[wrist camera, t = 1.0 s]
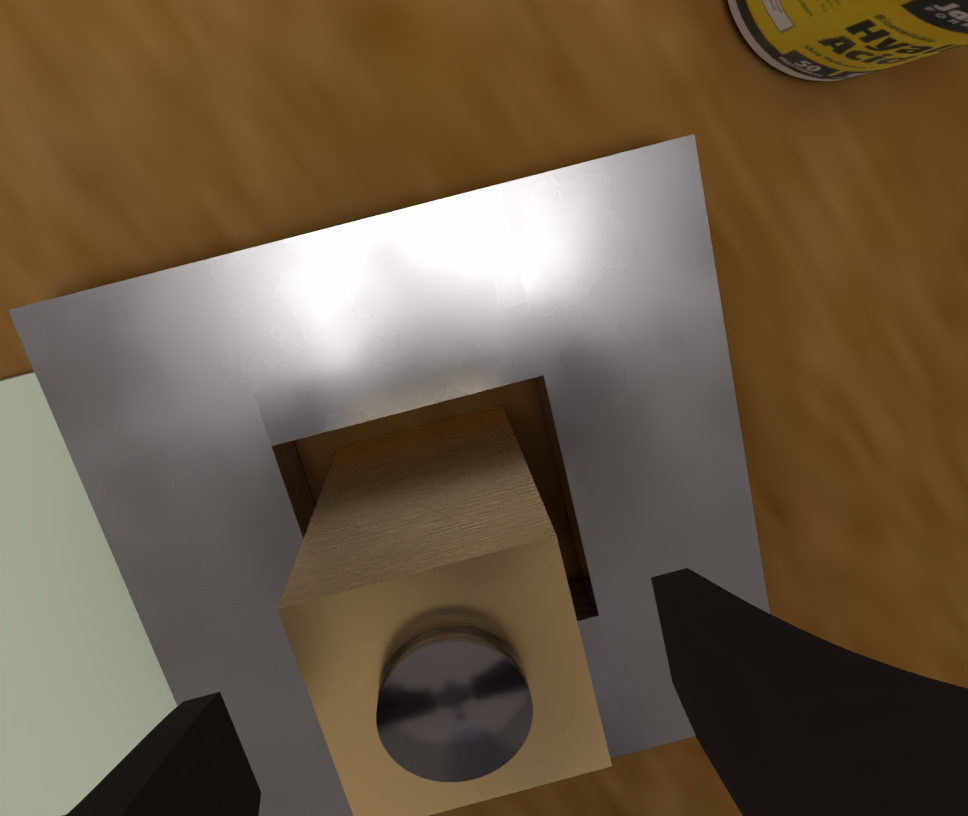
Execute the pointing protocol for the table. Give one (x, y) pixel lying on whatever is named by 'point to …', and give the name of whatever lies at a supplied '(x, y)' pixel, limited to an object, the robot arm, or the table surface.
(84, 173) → the table surface
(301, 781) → the square plate with hole
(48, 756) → the mat
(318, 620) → the end cover
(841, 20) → the supplement bottle
